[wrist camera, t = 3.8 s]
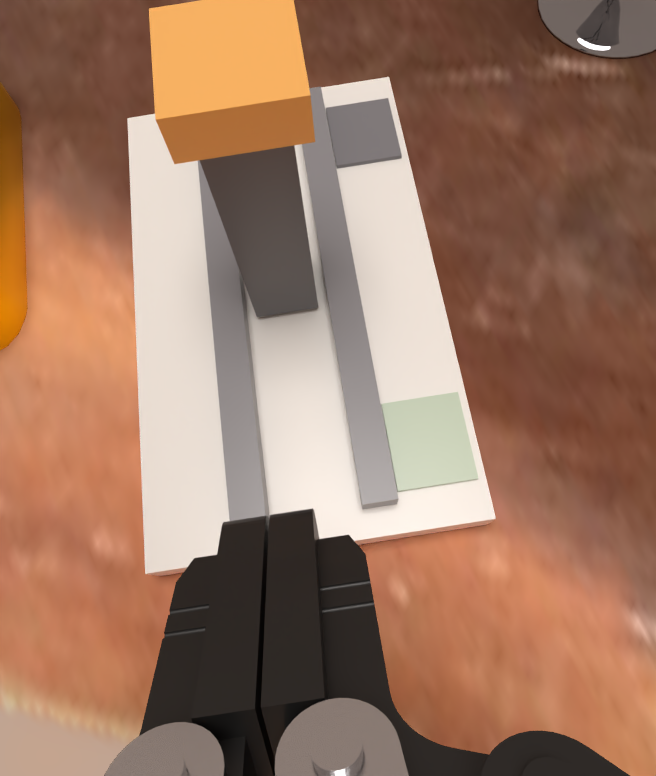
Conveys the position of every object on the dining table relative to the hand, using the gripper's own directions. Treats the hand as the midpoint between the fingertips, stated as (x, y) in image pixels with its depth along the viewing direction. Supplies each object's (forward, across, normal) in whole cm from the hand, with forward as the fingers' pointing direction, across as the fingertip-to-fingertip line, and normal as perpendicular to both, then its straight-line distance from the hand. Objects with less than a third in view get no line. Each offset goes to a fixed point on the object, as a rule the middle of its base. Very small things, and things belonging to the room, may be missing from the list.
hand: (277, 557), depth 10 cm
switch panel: (+16, 0, +1) cm, 16 cm away
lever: (+15, 0, -1) cm, 15 cm away
